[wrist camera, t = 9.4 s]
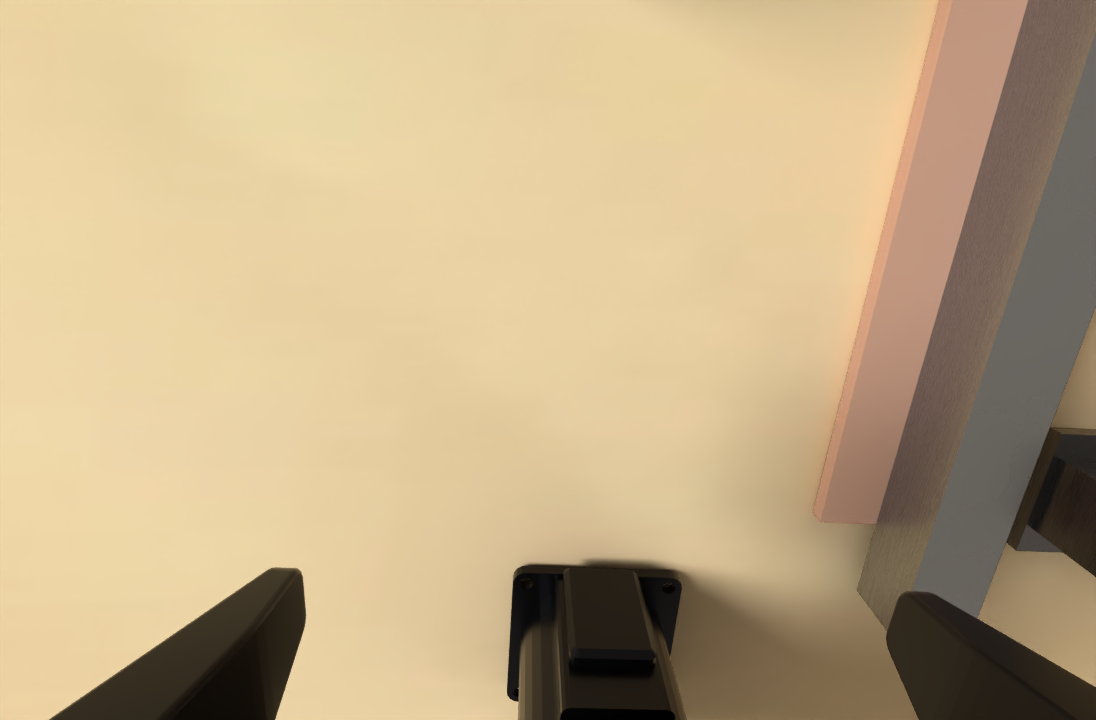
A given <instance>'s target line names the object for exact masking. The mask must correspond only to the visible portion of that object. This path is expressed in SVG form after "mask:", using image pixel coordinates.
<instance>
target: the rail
mask: <svg viewBox="0 0 1096 720" xmlns="http://www.w3.org/2000/svg"><path fill="white" fill-rule="evenodd" d="M1095 307H1096V0H1028V3H1027V6H1026V10H1025V13H1024V17H1023V20H1022V23H1021V27H1020V30H1019V34H1018V37H1017V41H1016V44H1015V48H1014V51H1013V54H1012V58H1011V61H1010V65H1009V68H1008V72H1007V75H1006V78H1005V82H1004V85H1003V89H1002V92H1001V96H1000V99H999V103H998V106H997V109H996V113H995V116H994V120H993V123H992V127H991V130H990V134H989V137H988V140H987V144H986V147H985V151H984V154H983V158H982V161H981V165H980V168H979V171H978V175H977V178H976V182H975V185H974V189H973V192H972V196H971V199H970V202H969V206H968V209H967V213H966V216H965V220H964V223H963V227H962V230H961V233H960V237H959V240H958V244H957V247H956V251H955V254H954V258H953V261H952V264H951V268H950V271H949V275H948V278H947V282H946V285H945V289H944V292H943V295H942V299H941V302H940V306H939V309H938V313H937V316H936V320H935V323H934V326H933V330H932V333H931V337H930V340H929V344H928V347H927V350H926V354H925V357H924V361H923V364H922V368H921V371H920V375H919V378H918V381H917V385H916V388H915V392H914V395H913V399H912V402H911V406H910V409H909V412H908V416H907V419H906V423H905V426H904V430H903V433H902V437H901V440H900V443H899V447H898V450H897V454H896V457H895V461H894V464H893V468H892V471H891V474H890V478H889V481H888V485H887V488H886V492H885V495H884V499H883V502H882V505H881V509H880V512H879V516H878V519H877V523H876V526H875V530H874V533H873V536H872V540H871V543H870V547H869V550H868V554H867V557H866V560H865V564H864V567H863V571H862V574H861V578H860V581H859V585H858V588H857V591H858V593H859V594H860V595H861V597H862V598H863V599H864V601H865V602H866V603H867V605H868V606H869V608H870V609H871V610H872V612H873V613H874V614H875V616H876V617H877V618H878V620H879V621H880V622H881V624H882V625H883V627H884V628H885V629H886V631H887V630H888V627H889V624H890V620H891V617H892V614H893V611H894V608H895V605H896V602H897V599H898V597H899V595H900V594H901V593H903V592H905V591H921V592H930V593H933V594H935V595H937V596H939V597H941V598H942V599H944V600H946V601H948V602H949V603H951V604H953V605H954V606H956V607H958V608H960V609H961V610H963V611H965V612H967V613H968V614H970V615H972V616H973V617H975V618H977V617H978V615H979V612H980V610H981V607H982V604H983V602H984V599H985V596H986V594H987V591H988V589H989V586H990V583H991V581H992V578H993V575H994V573H995V570H996V568H997V565H998V562H999V560H1000V557H1001V554H1002V552H1003V549H1004V547H1005V544H1006V541H1007V539H1008V536H1009V533H1010V531H1011V528H1012V526H1013V523H1014V520H1015V518H1016V515H1017V512H1018V510H1019V507H1020V504H1021V502H1022V499H1023V497H1024V494H1025V491H1026V489H1027V486H1028V483H1029V481H1030V478H1031V476H1032V473H1033V470H1034V468H1035V465H1036V462H1037V460H1038V457H1039V455H1040V452H1041V449H1042V447H1043V444H1044V441H1045V439H1046V436H1047V434H1048V431H1049V428H1050V426H1051V423H1052V420H1053V418H1054V415H1055V413H1056V410H1057V407H1058V405H1059V402H1060V399H1061V397H1062V394H1063V391H1064V389H1065V386H1066V384H1067V381H1068V378H1069V376H1070V373H1071V370H1072V368H1073V365H1074V363H1075V360H1076V357H1077V355H1078V352H1079V349H1080V347H1081V344H1082V342H1083V339H1084V336H1085V334H1086V331H1087V328H1088V326H1089V323H1090V321H1091V318H1092V315H1093V313H1094V310H1095Z"/></svg>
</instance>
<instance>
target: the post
mask: <svg viewBox="0 0 1096 720" xmlns="http://www.w3.org/2000/svg"><path fill="white" fill-rule="evenodd" d="M1007 543H1008V544H1009V545H1010V546H1011V547H1013V548H1014V549H1015V550H1016V551H1036V552H1062V553H1065V554H1066V555H1067V556H1069V557H1070V558H1071V559H1073V560H1074V561H1075V562H1077V563H1078V564H1079V565H1081V566H1082V567H1083V568H1085V569H1086V570H1087V571H1089V572H1090V573H1091V574H1092V575H1094V576H1095V577H1096V430H1091V429H1070V428H1050V430H1049V433H1048V436H1047V438H1046V441H1045V444H1044V446H1043V449H1042V451H1041V454H1040V457H1039V459H1038V462H1037V465H1036V467H1035V470H1034V472H1033V475H1032V478H1031V480H1030V483H1029V485H1028V488H1027V491H1026V493H1025V496H1024V499H1023V501H1022V504H1021V506H1020V509H1019V512H1018V514H1017V517H1016V520H1015V522H1014V525H1013V527H1012V530H1011V533H1010V535H1009V538H1008V540H1007Z"/></svg>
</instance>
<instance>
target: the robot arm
mask: <svg viewBox="0 0 1096 720" xmlns="http://www.w3.org/2000/svg"><path fill="white" fill-rule="evenodd" d="M523 578H529V579H531V580H530V581H528V582H524V581H522V579H523ZM666 583H672V584H671V585H670V586H667V587H665V586H663V585H665V584H666ZM681 589H682V587H681V582H680V580H679V577H678V575H677V574H676V573H674V572H672V571H660V570H632V569H604V568H576V567H548V566H522V567H520V568H518V569H517V570H516V571H515V572H514V575H513V591H512V609H511V627H510V646H509V664H508V683H507V694H508V697H509V698H510V699H512V700H513V701H518V702H519V705H518V720H687V718H686V715H685V711H684V707H683V704H682V700H681V696H680V693H679V689H678V685H677V682H676V678H675V674H674V671H673V667H672V663H671V660H670V654H671V648H672V642H673V636H674V631H675V625H676V619H677V613H678V607H679V601H680V595H681ZM305 621H306V608H305V596H304V585H303V576H302V573H301V571H300V570H298V569H297V568H271V569H269V570H267V571H265V572H264V573H262V574H261V575H259V576H258V577H257V578H255V579H254V580H252V581H251V582H249V583H248V584H246V585H245V586H243V587H242V588H240V589H239V590H238V591H236V592H235V593H233V594H232V595H230V596H229V597H227V598H226V599H224V600H223V601H221V602H220V603H219V604H217V605H216V606H214V607H213V608H211V609H210V610H208V611H207V612H205V613H204V614H203V615H201V616H200V617H198V618H197V619H195V620H194V621H192V622H191V623H189V624H188V625H186V626H185V627H184V628H182V629H181V630H179V631H178V632H176V633H175V634H173V635H172V636H170V637H169V638H167V639H166V640H165V641H163V642H162V643H160V644H159V645H157V646H156V647H154V648H153V649H151V650H150V651H148V652H147V653H146V654H144V655H143V656H141V657H140V658H138V659H137V660H135V661H134V662H132V663H131V664H129V665H128V666H127V667H125V668H124V669H122V670H121V671H119V672H118V673H116V674H115V675H113V676H112V677H110V678H109V679H108V680H106V681H105V682H103V683H102V684H100V685H99V686H97V687H96V688H94V689H93V690H91V691H90V692H89V693H87V694H86V695H84V696H83V697H81V698H80V699H78V700H77V701H75V702H74V703H72V704H71V705H70V706H68V707H67V708H65V709H64V710H62V711H61V712H59V713H58V714H56V715H55V716H53V717H52V718H51V719H49V720H275V718H276V715H277V712H278V709H279V706H280V703H281V700H282V697H283V693H284V690H285V687H286V684H287V681H288V678H289V675H290V672H291V668H292V665H293V662H294V659H295V656H296V653H297V650H298V647H299V644H300V640H301V637H302V634H303V631H304V627H305ZM886 640H887V646H888V650H889V652H890V655H891V657H892V659H893V662H894V664H895V666H896V668H897V671H898V673H899V675H900V678H901V680H902V682H903V684H904V687H905V689H906V691H907V694H908V696H909V698H910V700H911V703H912V705H913V707H914V710H915V712H916V714H917V716H918V719H919V720H1096V687H1094V686H1093V685H1091V684H1089V683H1087V682H1086V681H1084V680H1082V679H1080V678H1079V677H1077V676H1075V675H1074V674H1072V673H1070V672H1068V671H1067V670H1065V669H1063V668H1061V667H1060V666H1058V665H1056V664H1055V663H1053V662H1051V661H1049V660H1048V659H1046V658H1044V657H1042V656H1041V655H1039V654H1037V653H1036V652H1034V651H1032V650H1030V649H1029V648H1027V647H1025V646H1023V645H1022V644H1020V643H1018V642H1017V641H1015V640H1013V639H1011V638H1010V637H1008V636H1006V635H1004V634H1003V633H1001V632H999V631H998V630H996V629H994V628H992V627H991V626H989V625H987V624H985V623H984V622H982V621H980V620H979V619H977V618H975V617H973V616H972V615H970V614H968V613H967V612H965V611H963V610H961V609H960V608H958V607H956V606H954V605H953V604H951V603H949V602H948V601H946V600H944V599H942V598H941V597H939V596H937V595H935V594H933V593H930V592H921V591H905V592H903V593H901V594H900V595H899V597H898V599H897V602H896V605H895V608H894V611H893V614H892V617H891V620H890V624H889V627H888V630H887V636H886ZM517 688H519V689H517Z"/></svg>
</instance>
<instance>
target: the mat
mask: <svg viewBox="0 0 1096 720" xmlns="http://www.w3.org/2000/svg"><path fill="white" fill-rule="evenodd" d="M1027 3H1028V0H940V2H939V6H938V10H937V14H936V18H935V22H934V26H933V30H932V34H931V38H930V42H929V46H928V50H927V54H926V58H925V62H924V66H923V70H922V74H921V78H920V82H919V87H918V91H917V95H916V99H915V103H914V107H913V111H912V115H911V119H910V123H909V127H908V131H907V135H906V139H905V143H904V147H903V151H902V155H901V159H900V163H899V167H898V171H897V175H896V179H895V183H894V187H893V191H892V195H891V200H890V204H889V208H888V212H887V216H886V220H885V224H884V228H883V232H882V236H881V240H880V244H879V248H878V252H877V256H876V260H875V264H874V268H873V272H872V276H871V280H870V284H869V288H868V292H867V296H866V300H865V304H864V308H863V313H862V317H861V321H860V325H859V329H858V333H857V337H856V341H855V345H854V349H853V353H852V357H851V361H850V365H849V369H848V373H847V377H846V381H845V385H844V389H843V393H842V397H841V401H840V405H839V409H838V413H837V417H836V421H835V426H834V430H833V434H832V438H831V442H830V446H829V450H828V454H827V458H826V462H825V466H824V470H823V474H822V478H821V482H820V486H819V490H818V494H817V498H816V502H815V506H814V510H813V513H814V515H815V516H816V517H817V519H818V520H819V521H820V522H832V523H857V524H876V523H877V519H878V516H879V512H880V509H881V505H882V502H883V499H884V495H885V492H886V488H887V485H888V481H889V478H890V474H891V471H892V468H893V464H894V461H895V457H896V454H897V450H898V447H899V443H900V440H901V437H902V433H903V430H904V426H905V423H906V419H907V416H908V412H909V409H910V406H911V402H912V399H913V395H914V392H915V388H916V385H917V381H918V378H919V375H920V371H921V368H922V364H923V361H924V357H925V354H926V350H927V347H928V344H929V340H930V337H931V333H932V330H933V326H934V323H935V320H936V316H937V313H938V309H939V306H940V302H941V299H942V295H943V292H944V289H945V285H946V282H947V278H948V275H949V271H950V268H951V264H952V261H953V258H954V254H955V251H956V247H957V244H958V240H959V237H960V233H961V230H962V227H963V223H964V220H965V216H966V213H967V209H968V206H969V202H970V199H971V196H972V192H973V189H974V185H975V182H976V178H977V175H978V171H979V168H980V165H981V161H982V158H983V154H984V151H985V147H986V144H987V140H988V137H989V134H990V130H991V127H992V123H993V120H994V116H995V113H996V109H997V106H998V103H999V99H1000V96H1001V92H1002V89H1003V85H1004V82H1005V78H1006V75H1007V72H1008V68H1009V65H1010V61H1011V58H1012V54H1013V51H1014V48H1015V44H1016V41H1017V37H1018V34H1019V30H1020V27H1021V23H1022V20H1023V17H1024V13H1025V10H1026V6H1027Z"/></svg>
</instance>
